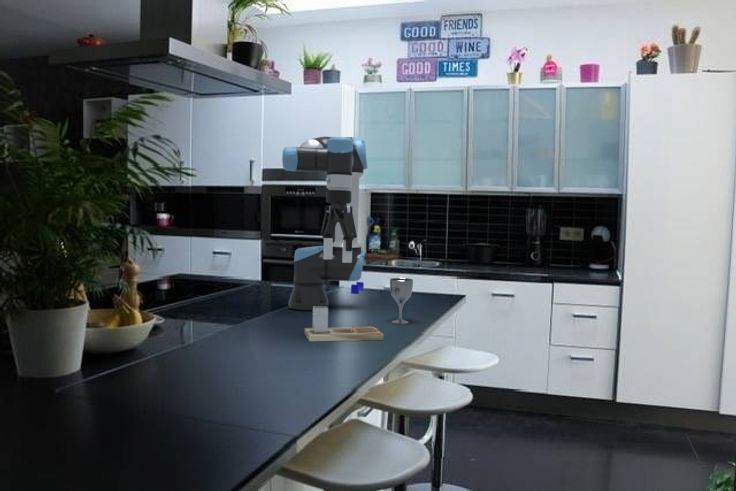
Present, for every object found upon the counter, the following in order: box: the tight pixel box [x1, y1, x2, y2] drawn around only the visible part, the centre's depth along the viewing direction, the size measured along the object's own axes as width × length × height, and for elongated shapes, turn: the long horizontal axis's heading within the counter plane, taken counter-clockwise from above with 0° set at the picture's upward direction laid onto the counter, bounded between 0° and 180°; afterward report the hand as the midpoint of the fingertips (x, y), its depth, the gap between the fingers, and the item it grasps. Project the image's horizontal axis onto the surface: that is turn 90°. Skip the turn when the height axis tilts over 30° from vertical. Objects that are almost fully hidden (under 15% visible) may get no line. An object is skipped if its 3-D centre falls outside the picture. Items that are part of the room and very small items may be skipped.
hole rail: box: [304, 326, 384, 342], centre depth 188 cm, size 12×22×2 cm, turn 103°
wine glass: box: [389, 277, 414, 325], centre depth 214 cm, size 8×8×15 cm
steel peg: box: [311, 306, 329, 334], centre depth 186 cm, size 4×4×9 cm
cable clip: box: [350, 281, 365, 295], centre depth 277 cm, size 12×4×6 cm, turn 169°
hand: (337, 261), depth 187 cm, fingers open, 13 cm apart
